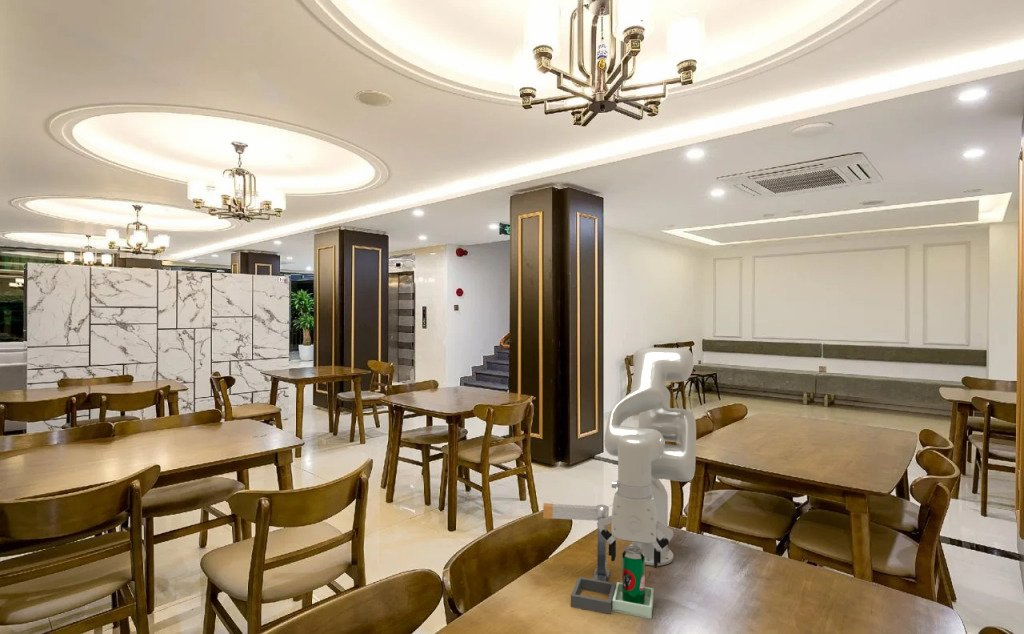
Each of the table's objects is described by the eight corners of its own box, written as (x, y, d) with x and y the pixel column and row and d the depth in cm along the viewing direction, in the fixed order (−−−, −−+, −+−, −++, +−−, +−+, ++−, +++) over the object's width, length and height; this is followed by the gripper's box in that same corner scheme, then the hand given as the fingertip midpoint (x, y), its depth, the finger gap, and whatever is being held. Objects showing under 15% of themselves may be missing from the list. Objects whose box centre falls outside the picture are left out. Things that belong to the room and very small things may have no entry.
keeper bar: (607, 517, 131) (608, 505, 131) (609, 522, 128) (609, 509, 128) (543, 514, 132) (543, 501, 133) (543, 518, 129) (543, 506, 129)
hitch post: (595, 571, 131) (596, 517, 132) (609, 573, 130) (610, 519, 130) (590, 588, 123) (590, 529, 123) (604, 590, 122) (605, 532, 122)
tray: (617, 592, 121) (617, 582, 121) (653, 599, 118) (653, 588, 118) (612, 611, 113) (612, 600, 113) (651, 618, 110) (651, 607, 110)
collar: (578, 586, 124) (578, 576, 124) (615, 593, 121) (616, 583, 121) (570, 606, 115) (570, 595, 115) (610, 614, 112) (610, 603, 112)
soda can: (645, 609, 113) (645, 555, 113) (622, 606, 114) (622, 553, 114) (644, 597, 118) (644, 546, 118) (622, 595, 119) (622, 544, 119)
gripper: (594, 490, 116) (594, 563, 116) (673, 499, 110) (673, 576, 110) (599, 479, 123) (599, 549, 123) (673, 487, 117) (673, 560, 117)
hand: (634, 562), depth 117 cm, fingers open, 9 cm apart
